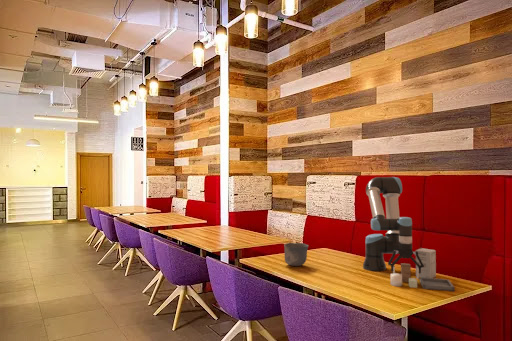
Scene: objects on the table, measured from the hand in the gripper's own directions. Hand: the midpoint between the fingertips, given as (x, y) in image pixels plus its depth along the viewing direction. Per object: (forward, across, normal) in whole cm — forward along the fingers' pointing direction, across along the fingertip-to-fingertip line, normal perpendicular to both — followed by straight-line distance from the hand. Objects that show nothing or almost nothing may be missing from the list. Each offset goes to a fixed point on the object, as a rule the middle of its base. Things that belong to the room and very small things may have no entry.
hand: (405, 277), depth 226 cm
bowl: (+2, -71, +18) cm, 73 cm away
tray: (+2, +16, -6) cm, 17 cm away
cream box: (+2, +3, -10) cm, 11 cm away
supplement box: (+2, +13, +14) cm, 19 cm away
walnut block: (+2, 0, 0) cm, 2 cm away
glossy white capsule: (+2, -6, -10) cm, 12 cm away
